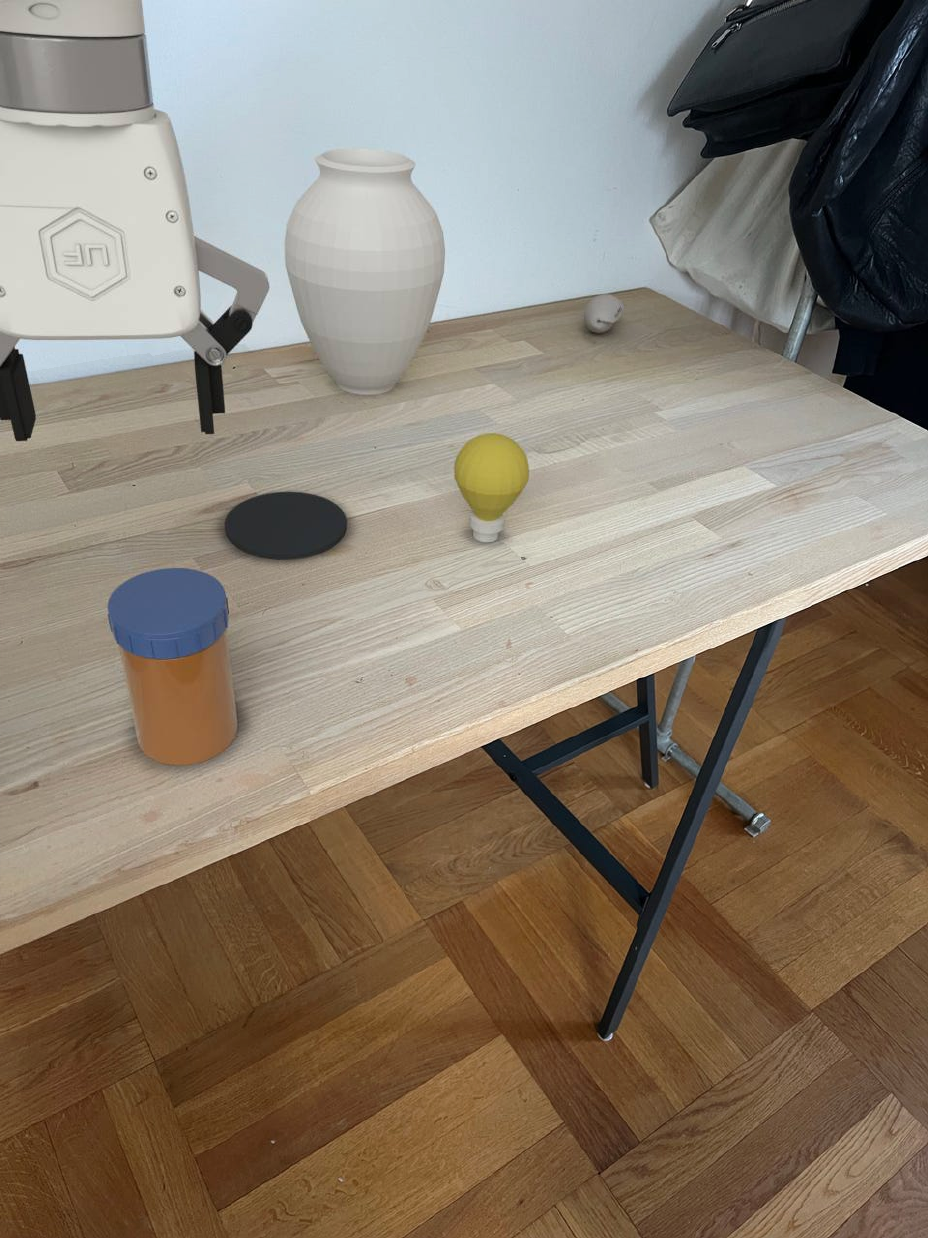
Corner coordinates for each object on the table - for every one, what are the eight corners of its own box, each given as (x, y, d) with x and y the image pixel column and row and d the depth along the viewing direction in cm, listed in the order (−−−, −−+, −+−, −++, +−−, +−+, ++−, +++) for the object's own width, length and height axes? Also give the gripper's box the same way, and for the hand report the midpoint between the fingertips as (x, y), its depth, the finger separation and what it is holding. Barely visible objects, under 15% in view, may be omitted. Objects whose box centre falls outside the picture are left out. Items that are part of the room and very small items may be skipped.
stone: (614, 346, 128) (620, 310, 125) (576, 340, 129) (581, 304, 126) (623, 324, 136) (629, 289, 133) (587, 318, 137) (592, 284, 134)
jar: (153, 778, 60) (128, 650, 53) (126, 715, 64) (100, 590, 58) (251, 745, 63) (238, 620, 56) (219, 687, 67) (204, 566, 61)
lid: (129, 672, 54) (124, 647, 53) (100, 608, 59) (94, 583, 58) (244, 640, 57) (242, 615, 56) (208, 581, 62) (205, 557, 61)
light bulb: (532, 528, 88) (544, 431, 82) (504, 562, 83) (515, 462, 77) (467, 510, 90) (475, 414, 84) (437, 542, 85) (443, 442, 79)
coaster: (250, 571, 79) (249, 565, 79) (208, 511, 86) (208, 505, 86) (366, 542, 84) (366, 536, 84) (318, 487, 91) (317, 482, 91)
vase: (343, 427, 102) (340, 182, 87) (263, 372, 113) (248, 146, 98) (467, 393, 112) (484, 168, 97) (383, 346, 122) (386, 136, 107)
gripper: (-177, 78, 37) (-65, 465, 47) (265, 99, 41) (281, 451, 51) (-129, 55, 43) (-39, 405, 53) (253, 76, 47) (270, 396, 57)
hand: (119, 427), depth 52 cm, fingers open, 9 cm apart
